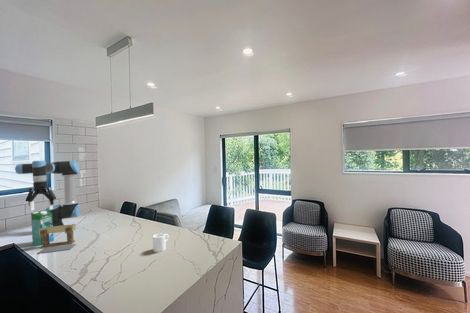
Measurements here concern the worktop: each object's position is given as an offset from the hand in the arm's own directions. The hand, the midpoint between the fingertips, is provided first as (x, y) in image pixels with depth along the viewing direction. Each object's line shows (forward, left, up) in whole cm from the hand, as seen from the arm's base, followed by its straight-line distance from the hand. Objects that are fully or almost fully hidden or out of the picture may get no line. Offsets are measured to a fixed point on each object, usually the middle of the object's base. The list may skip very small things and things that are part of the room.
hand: (41, 209), depth 158 cm
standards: (-4, +7, -29) cm, 30 cm away
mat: (+6, +11, -29) cm, 32 cm away
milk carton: (-14, -8, -29) cm, 33 cm away
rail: (-4, +7, -19) cm, 21 cm away
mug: (+33, +86, -29) cm, 97 cm away
